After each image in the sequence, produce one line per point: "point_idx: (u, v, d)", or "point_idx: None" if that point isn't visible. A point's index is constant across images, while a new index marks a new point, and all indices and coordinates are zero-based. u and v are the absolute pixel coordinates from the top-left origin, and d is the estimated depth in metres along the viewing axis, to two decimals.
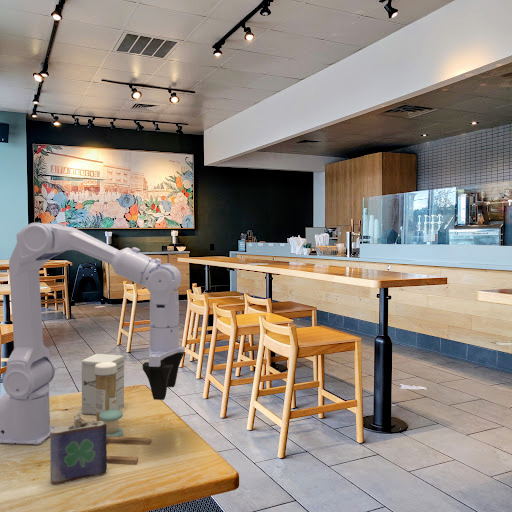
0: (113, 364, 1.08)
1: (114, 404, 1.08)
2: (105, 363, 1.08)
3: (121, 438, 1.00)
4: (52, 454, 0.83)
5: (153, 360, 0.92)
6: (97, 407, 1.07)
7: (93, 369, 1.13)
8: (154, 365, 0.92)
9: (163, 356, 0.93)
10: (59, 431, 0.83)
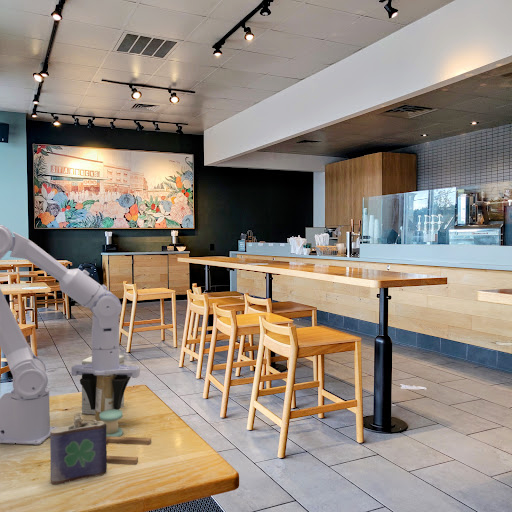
0: None
1: (111, 405, 1.07)
2: None
3: (121, 438, 1.00)
4: (52, 454, 0.83)
5: None
6: (95, 404, 1.08)
7: None
8: None
9: (78, 369, 1.07)
10: (59, 431, 0.83)
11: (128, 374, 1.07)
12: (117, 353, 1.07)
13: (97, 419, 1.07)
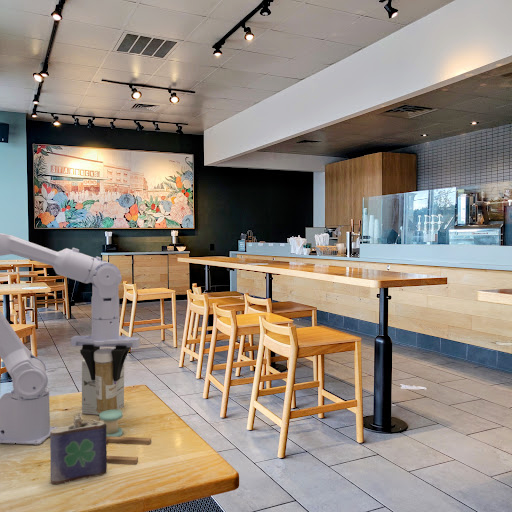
0: None
1: (111, 391, 1.07)
2: (105, 350, 1.08)
3: (121, 438, 1.00)
4: (52, 454, 0.83)
5: None
6: (96, 392, 1.07)
7: None
8: None
9: (78, 340, 1.07)
10: (59, 431, 0.83)
11: (128, 345, 1.07)
12: (117, 323, 1.07)
13: (99, 407, 1.07)
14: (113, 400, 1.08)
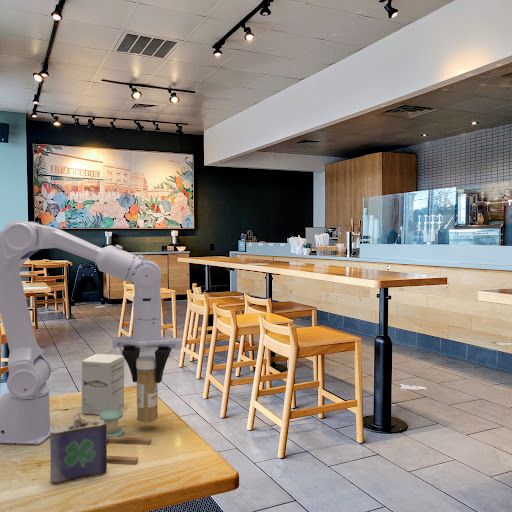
0: (153, 359, 1.05)
1: (153, 400, 1.05)
2: (147, 357, 1.06)
3: (121, 438, 1.00)
4: (52, 454, 0.83)
5: None
6: (137, 401, 1.05)
7: (93, 369, 1.13)
8: None
9: (120, 341, 1.04)
10: (59, 431, 0.83)
11: (170, 346, 1.05)
12: (159, 324, 1.05)
13: (140, 415, 1.05)
14: (155, 409, 1.05)
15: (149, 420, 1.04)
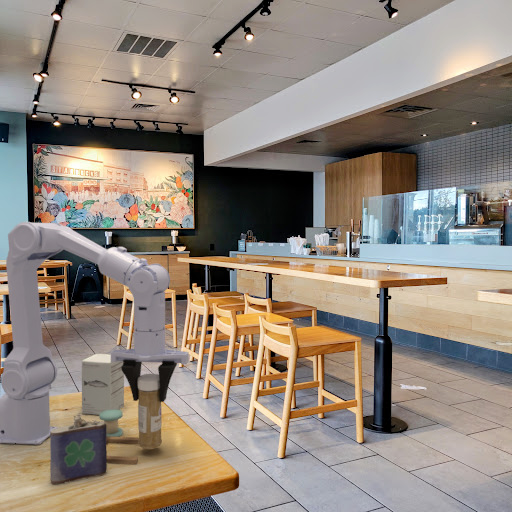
0: (157, 378, 0.94)
1: (157, 423, 0.94)
2: (150, 375, 0.95)
3: (121, 438, 1.00)
4: (52, 454, 0.83)
5: None
6: (139, 424, 0.94)
7: (93, 369, 1.13)
8: None
9: (119, 354, 0.93)
10: (59, 431, 0.83)
11: (176, 360, 0.93)
12: (163, 336, 0.93)
13: (142, 441, 0.94)
14: (158, 433, 0.94)
15: (152, 446, 0.94)
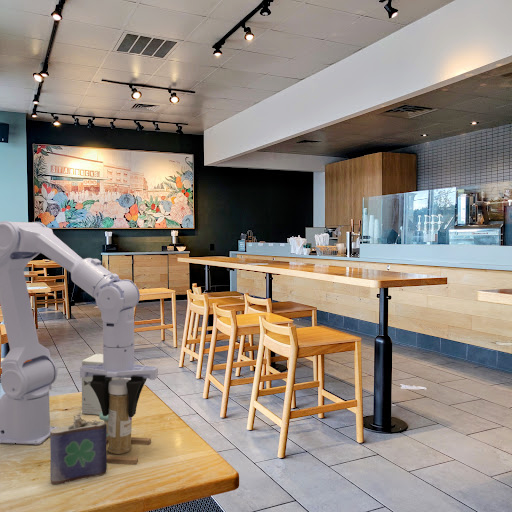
0: None
1: (127, 428, 0.95)
2: (121, 380, 0.96)
3: None
4: (52, 454, 0.83)
5: None
6: (108, 429, 0.95)
7: None
8: None
9: (88, 370, 0.94)
10: (59, 431, 0.83)
11: (145, 375, 0.94)
12: (132, 351, 0.94)
13: (111, 446, 0.94)
14: (128, 438, 0.95)
15: (121, 451, 0.94)
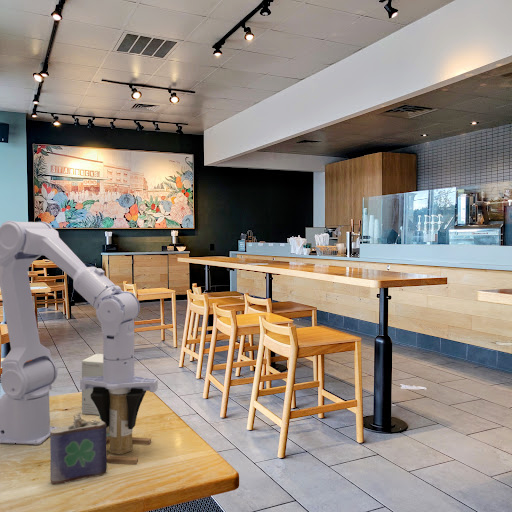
0: None
1: (127, 428, 0.95)
2: None
3: None
4: (52, 454, 0.83)
5: None
6: (109, 429, 0.95)
7: (93, 369, 1.13)
8: None
9: (88, 382, 0.94)
10: (59, 431, 0.83)
11: (145, 388, 0.94)
12: (132, 364, 0.94)
13: (113, 446, 0.94)
14: (129, 438, 0.95)
15: (123, 451, 0.94)
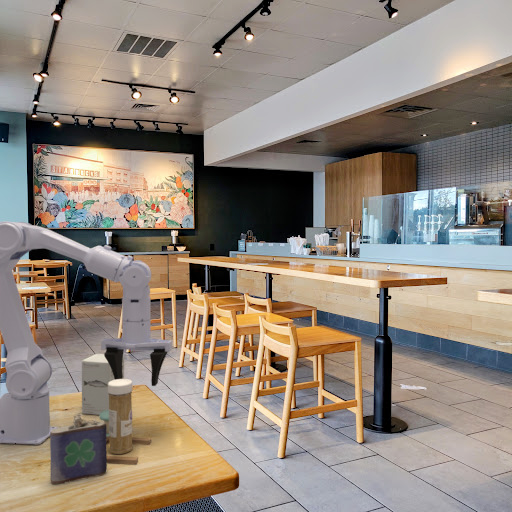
0: (127, 382, 0.95)
1: (127, 428, 0.95)
2: (120, 380, 0.96)
3: None
4: (52, 454, 0.83)
5: None
6: (109, 429, 0.95)
7: (93, 369, 1.13)
8: None
9: (108, 343, 1.03)
10: (59, 431, 0.83)
11: (160, 348, 1.03)
12: (149, 326, 1.03)
13: (113, 446, 0.94)
14: (129, 438, 0.95)
15: (123, 451, 0.94)
